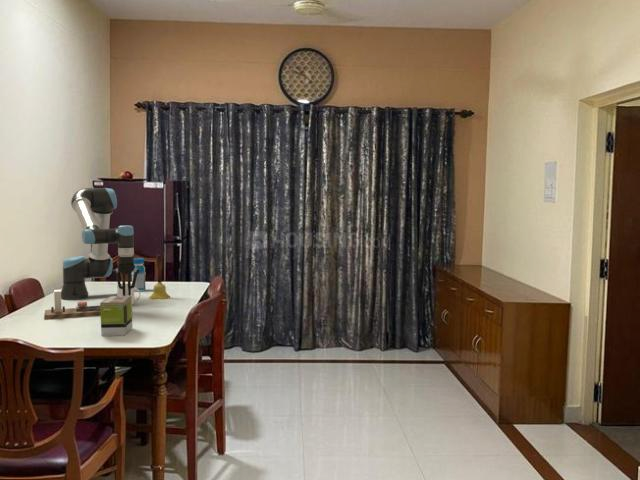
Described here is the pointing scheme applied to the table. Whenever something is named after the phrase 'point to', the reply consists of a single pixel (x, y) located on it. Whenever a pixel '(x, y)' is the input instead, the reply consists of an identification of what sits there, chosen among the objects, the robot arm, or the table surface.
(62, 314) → the control board
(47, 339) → the table surface
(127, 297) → the tea box
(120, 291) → the mug
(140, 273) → the beverage bottle
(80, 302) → the push button
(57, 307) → the toggle lever
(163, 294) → the handbell
